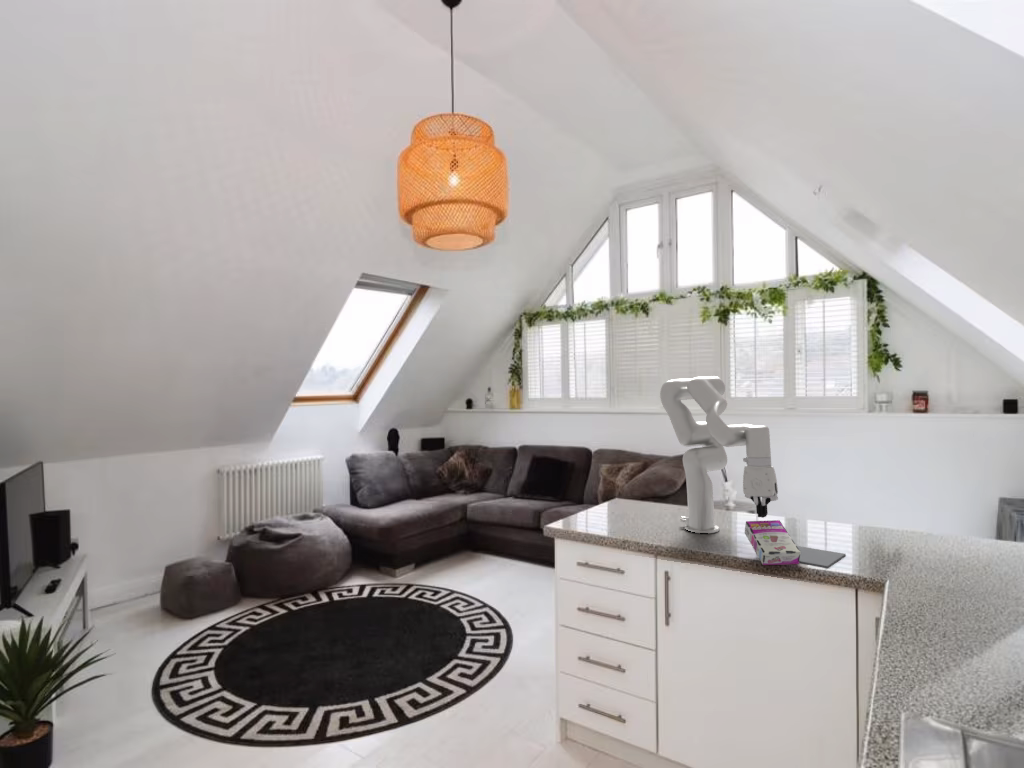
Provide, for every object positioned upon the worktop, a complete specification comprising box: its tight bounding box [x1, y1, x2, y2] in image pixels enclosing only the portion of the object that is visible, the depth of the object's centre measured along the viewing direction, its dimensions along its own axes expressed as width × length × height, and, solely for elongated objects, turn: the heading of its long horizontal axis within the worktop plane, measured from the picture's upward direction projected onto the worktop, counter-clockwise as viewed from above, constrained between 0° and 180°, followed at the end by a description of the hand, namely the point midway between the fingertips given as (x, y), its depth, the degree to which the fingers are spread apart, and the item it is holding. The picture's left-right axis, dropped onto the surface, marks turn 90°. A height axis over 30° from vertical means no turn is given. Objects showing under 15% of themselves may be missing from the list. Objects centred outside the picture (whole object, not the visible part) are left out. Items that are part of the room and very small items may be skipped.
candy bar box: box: [744, 519, 801, 566], centre depth 178 cm, size 11×5×16 cm
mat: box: [796, 545, 846, 569], centre depth 180 cm, size 20×16×1 cm
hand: (762, 516), depth 189 cm, fingers closed
